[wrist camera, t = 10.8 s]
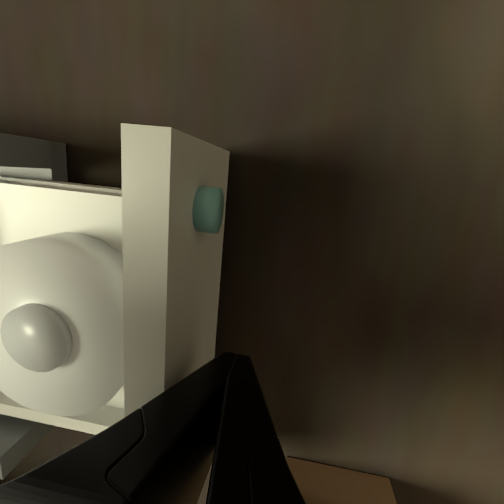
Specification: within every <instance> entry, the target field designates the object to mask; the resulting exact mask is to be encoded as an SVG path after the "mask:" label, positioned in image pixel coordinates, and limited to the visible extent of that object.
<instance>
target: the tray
mask: <svg viewBox="0 0 504 504" xmlns="http://www.w3.org/2000/svg"><path fill="white" fill-rule="evenodd" d="M229 155H230V152H229V151H227V150H224V149H222V148H219V147H217V146H215V145H212V144H210V143H207V142H205V141H203V140H200V139H198V138H195V137H193V136H191V135H188V134H186V133H183V132H181V131H179V130H176V129H174V128H171V127H160V126H148V125H136V124H124V123H121V169H122V188H116V187H107V186H98V185H89V184H79V183H70V182H61V181H52V180H43V179H34V178H25V177H16V176H7V175H0V245H5V244H9V243H14V242H18V241H23V240H27V239H32V238H36V237H41V236H45V235H50V234H54V233H63V232H71V233H79V234H84V235H88V236H91V237H94V238H97V239H99V240H101V241H103V242H105V243H107V244H109V245H110V246H112V247H113V248H115V249H116V250H118V251H119V252H120V253H121V254H122V255H123V334H124V385H123V386H122V387H121V388H120V390H119V391H118V392H117V393H116V394H115V396H114V397H113V398H112V399H111V400H110V401H108V402H107V403H106V404H105V405H103V406H102V407H100V408H98V409H97V410H94V411H92V412H89V413H86V414H82V415H78V416H54V415H48V414H44V413H41V412H37V411H34V410H32V409H29V408H27V407H25V406H23V405H21V404H19V403H17V402H15V401H14V400H12V399H11V398H9V397H8V396H6V395H5V394H4V393H2V392H1V391H0V414H3V415H8V416H12V417H17V418H21V419H26V420H31V421H35V422H40V423H44V424H49V425H54V426H58V427H63V428H67V429H72V430H77V431H81V432H86V433H91V434H95V435H96V434H98V433H100V432H101V431H103V430H105V429H107V428H108V427H110V426H112V425H113V424H115V423H116V422H118V421H120V420H121V419H123V418H124V417H126V416H127V415H129V414H130V413H132V412H133V411H135V410H137V409H138V408H141V406H143V405H144V404H146V403H147V402H149V401H150V400H152V399H153V398H155V397H156V396H158V395H159V394H161V393H162V392H164V391H165V390H167V389H168V388H170V387H171V386H173V385H174V384H176V383H177V382H179V381H180V380H182V379H183V378H185V377H187V376H188V375H190V374H191V373H193V372H194V371H196V370H197V369H199V368H200V367H202V366H203V365H205V364H206V363H208V362H209V361H211V360H212V359H214V357H215V343H216V330H217V316H218V303H219V289H220V276H221V263H222V249H223V236H224V222H225V209H226V195H227V182H228V168H229Z"/></svg>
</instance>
